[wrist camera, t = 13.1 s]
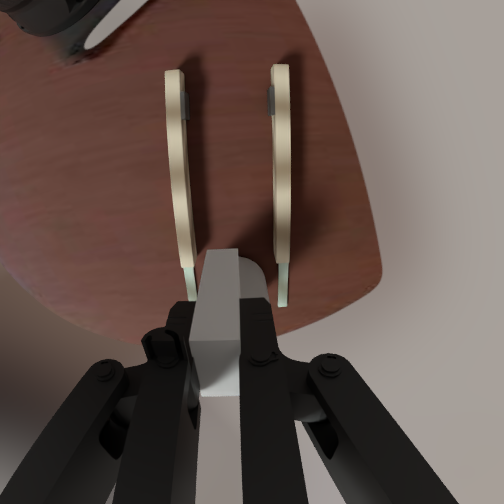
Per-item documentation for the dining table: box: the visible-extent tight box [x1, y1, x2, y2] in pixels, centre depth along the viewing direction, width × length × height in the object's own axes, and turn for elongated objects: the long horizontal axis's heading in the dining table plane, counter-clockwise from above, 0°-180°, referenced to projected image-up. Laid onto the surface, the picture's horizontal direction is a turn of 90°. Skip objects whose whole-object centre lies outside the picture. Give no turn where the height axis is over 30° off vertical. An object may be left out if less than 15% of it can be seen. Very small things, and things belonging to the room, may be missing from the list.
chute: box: [165, 64, 291, 307], centre depth 32 cm, size 30×13×3 cm, turn 2°
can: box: [238, 256, 270, 303], centre depth 32 cm, size 8×8×12 cm
